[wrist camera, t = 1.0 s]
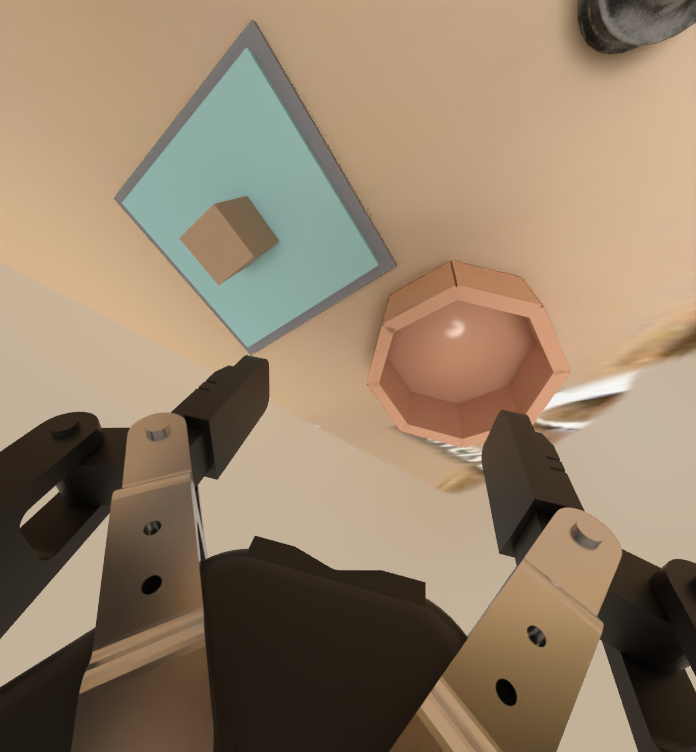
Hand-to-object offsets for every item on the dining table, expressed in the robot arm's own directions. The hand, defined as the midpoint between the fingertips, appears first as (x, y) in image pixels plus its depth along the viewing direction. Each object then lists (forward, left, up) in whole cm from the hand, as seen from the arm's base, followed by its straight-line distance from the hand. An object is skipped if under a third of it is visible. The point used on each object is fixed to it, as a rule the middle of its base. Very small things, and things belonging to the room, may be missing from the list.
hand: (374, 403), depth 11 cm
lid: (-9, -10, -19) cm, 23 cm away
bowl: (+9, 0, -20) cm, 22 cm away
